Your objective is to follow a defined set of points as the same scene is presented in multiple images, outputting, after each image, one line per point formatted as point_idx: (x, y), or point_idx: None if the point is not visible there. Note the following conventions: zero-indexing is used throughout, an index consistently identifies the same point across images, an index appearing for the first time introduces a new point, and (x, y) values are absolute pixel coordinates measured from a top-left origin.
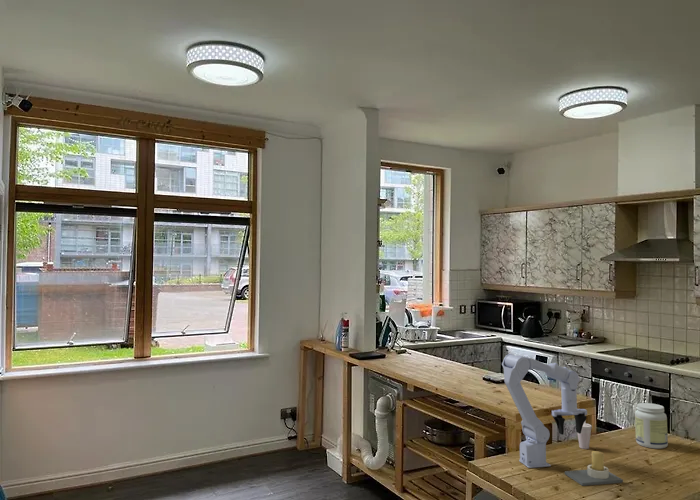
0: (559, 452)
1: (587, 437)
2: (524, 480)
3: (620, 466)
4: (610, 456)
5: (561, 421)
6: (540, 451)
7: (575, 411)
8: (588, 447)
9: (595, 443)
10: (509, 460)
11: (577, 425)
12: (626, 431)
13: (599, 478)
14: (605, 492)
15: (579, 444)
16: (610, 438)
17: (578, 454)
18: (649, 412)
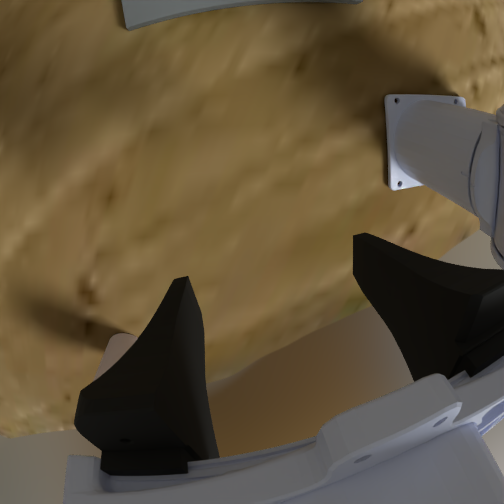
0: (258, 286)
1: (106, 370)
2: (488, 12)
3: (21, 122)
4: (36, 255)
5: (474, 273)
6: (473, 109)
7: (331, 494)
8: (110, 339)
9: (82, 378)
10: None
11: (195, 351)
12: (18, 427)
13: None
14: None
15: None
16: (43, 403)
17: (172, 269)
18: None
